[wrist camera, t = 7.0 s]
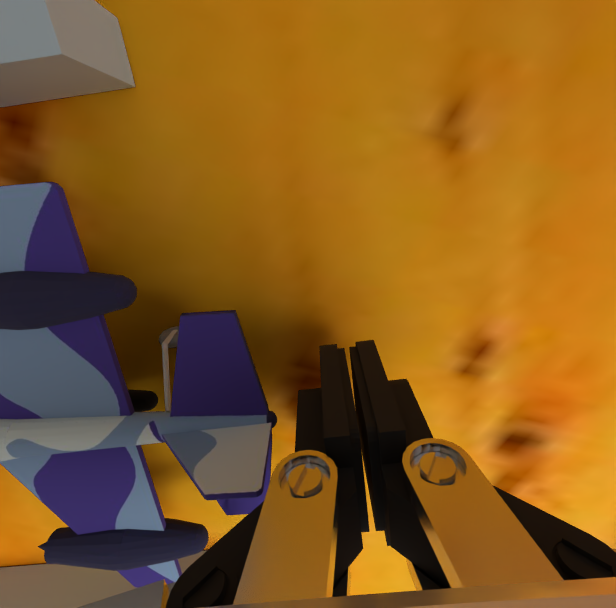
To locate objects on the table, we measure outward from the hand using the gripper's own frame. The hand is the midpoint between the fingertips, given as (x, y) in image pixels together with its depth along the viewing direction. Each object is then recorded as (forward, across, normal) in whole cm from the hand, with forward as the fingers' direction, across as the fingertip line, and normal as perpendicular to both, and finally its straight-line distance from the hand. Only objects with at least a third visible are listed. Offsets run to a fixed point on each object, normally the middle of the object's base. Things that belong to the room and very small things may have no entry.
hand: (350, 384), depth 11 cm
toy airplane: (+2, +9, 0) cm, 9 cm away
